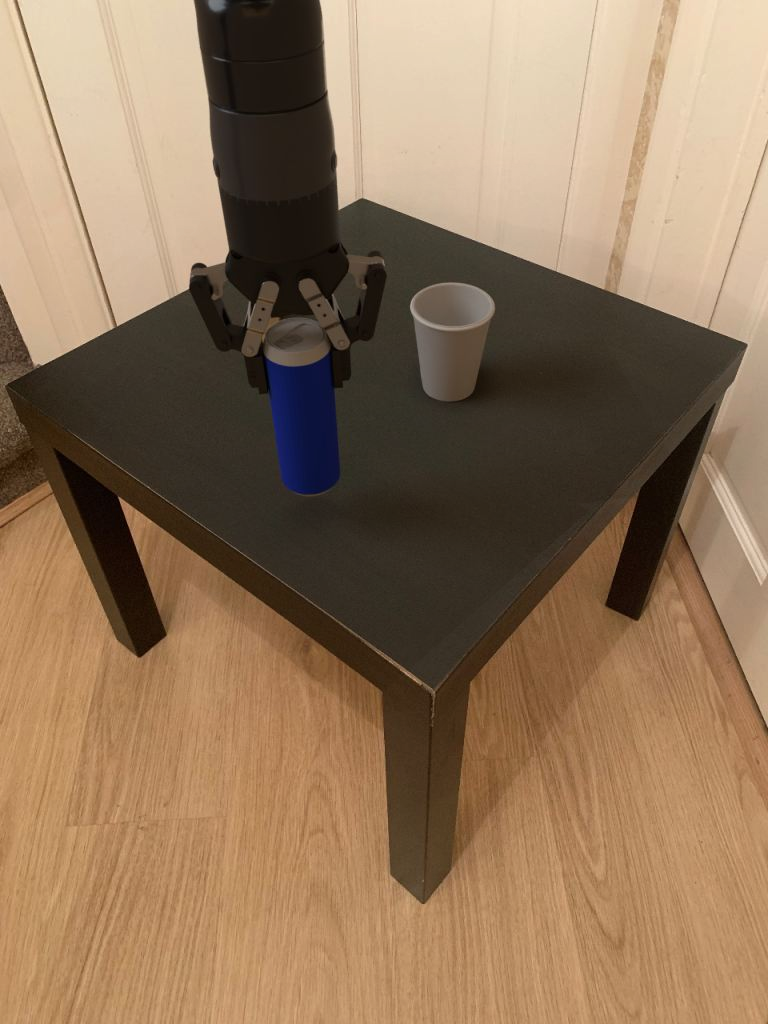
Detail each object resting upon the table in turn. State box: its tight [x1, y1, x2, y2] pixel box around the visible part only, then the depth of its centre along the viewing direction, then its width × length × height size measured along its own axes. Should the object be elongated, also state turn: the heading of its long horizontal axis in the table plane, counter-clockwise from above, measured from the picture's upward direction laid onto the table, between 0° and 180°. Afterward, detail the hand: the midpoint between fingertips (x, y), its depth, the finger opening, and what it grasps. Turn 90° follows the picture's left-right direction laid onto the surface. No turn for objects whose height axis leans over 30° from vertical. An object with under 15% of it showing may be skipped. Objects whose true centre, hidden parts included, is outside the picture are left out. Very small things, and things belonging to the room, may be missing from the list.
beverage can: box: [263, 317, 341, 497], centre depth 64 cm, size 5×5×15 cm
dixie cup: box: [409, 282, 496, 402], centre depth 82 cm, size 8×8×10 cm
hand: (300, 384), depth 62 cm, fingers closed on beverage can, 5 cm apart
